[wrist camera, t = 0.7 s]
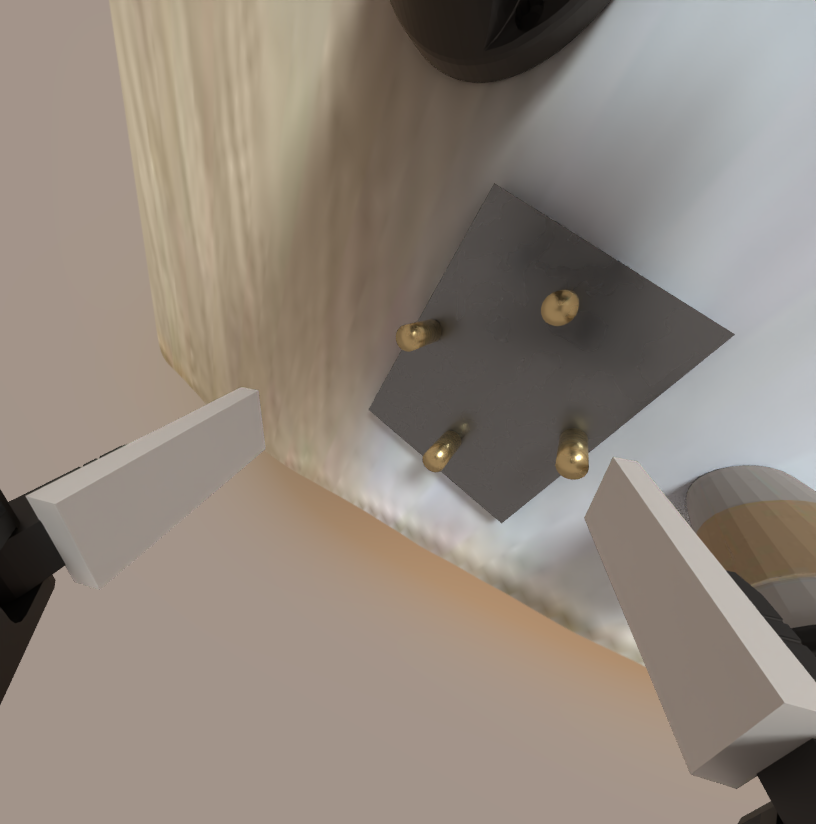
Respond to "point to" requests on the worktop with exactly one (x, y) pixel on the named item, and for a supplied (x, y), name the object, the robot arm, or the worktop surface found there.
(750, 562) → the coffee cup
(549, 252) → the pin plate
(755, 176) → the worktop surface
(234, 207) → the worktop surface
